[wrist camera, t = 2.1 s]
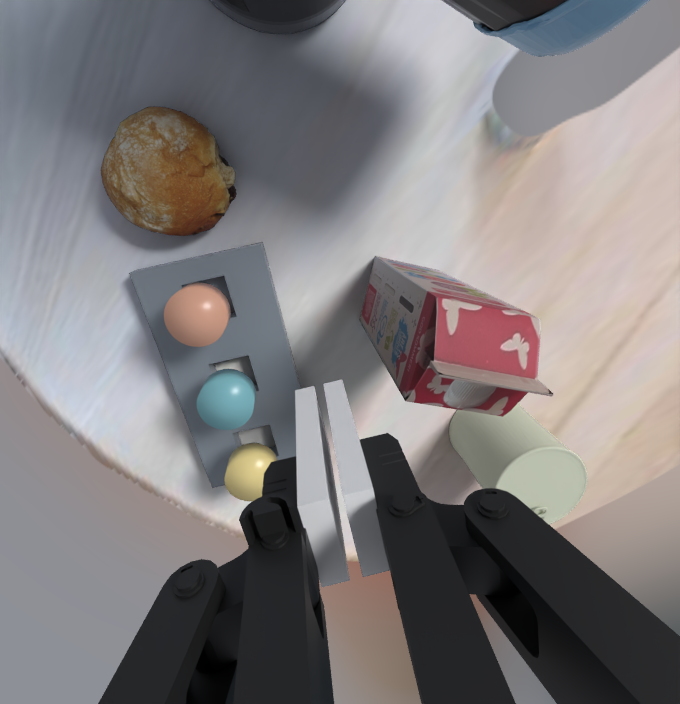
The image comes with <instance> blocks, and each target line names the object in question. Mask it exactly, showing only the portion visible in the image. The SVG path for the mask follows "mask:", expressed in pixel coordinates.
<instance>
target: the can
mask: <svg viewBox="0 0 680 704" xmlns="http://www.w3.org/2000/svg"><path fill="white" fill-rule="evenodd" d="M449 437H450V441H451V444H452V446H453V448H454V449H455V450H456V452H457V453H458V454H460V456H461V457H462V459H463V460H464V461H465V463H466V464H467V466H468V467H469V469H470V470H471V472H472V473H473V475H474V476H475V478H476V479H477V481H478V483H479V484H480V486H481V487H482V489H484V488H497V489H500V490H504V491H507V492H509V493H511V494H512V495H514V496H516V497H517V498H518V499H519V500H521V501H522V502H523V503H524V504H525V505H526V506H528V507H529V508H530V509H531V510H532V511H533V512H535V513H536V514H537V515H538V516H539V517H540V518H542V519H543V520H544V521H545V522H546V523H547V524H552V523H554V522H556V521H558V520H560V519H561V518H563V517H564V516H566V515H567V514H568V513H569V512H570V511H572V510H573V509H574V508H575V506H576V505H577V504H578V502H579V501H580V500H581V498H582V496H583V494H584V492H585V489H586V485H587V470H586V467H585V465H584V463H583V461H582V460H581V458H580V457H579V456H578V455H577V454H576V453H574V452H572V451H571V450H570V449H569V448H567V447H566V446H565V445H564V444H563V443H562V442H560V441H559V440H558V439H557V438H556V437H555V436H553V435H552V434H551V433H550V432H549V431H548V430H547V429H546V428H544V427H543V426H542V425H541V424H540V423H539V422H538V421H537V420H535V419H534V418H533V417H532V416H531V415H530V414H529V413H528V412H527V411H526V410H525V409H524V408H523V407H522V406H521V405H520V404H519V402H518V404H517V405H516V406H515V407H514V408H513V409H512V410H511V411H510V412H508V413H507V414H506V415H504V416H503V417H502V416H496V415H489V414H483V413H477V412H471V411H464V410H457V411H456V413H455V414H454V416H453V418H452V420H451V423H450V428H449Z"/></svg>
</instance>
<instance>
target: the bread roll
mask: <svg viewBox="0 0 680 704" xmlns="http://www.w3.org/2000/svg"><path fill="white" fill-rule="evenodd" d="M213 167H214V168H213ZM101 175H102V181H103V185H104V188H105V190H106V192H107V195H108V196H109V198H110V199H111V201H112V203H113V204H114V205H115V207H116V208H117V209H118V211H119V212H120V213H121V214H122V215H123V216H124V217H125V218H126V219H127V220H129V221H130V222H131V223H133V224H135V225H137V226H139V227H141V228H144V229H147V230H150V231H153V232H159V233H162V234H167V235H177V236H186V235H194V234H197V233H200V232H203V231H207V230H210V229H211V228H212V227H214V226H215V224H216V223H217V222H218V221H219V220H220V219H221V217H222V216H224V214H225V212H226V210H227V209H228V207H229V203H231V201H232V200H234V198H235V197H236V195H237V194H236V189H235V187H234V186H233V185H234V183H235V171H234V169H233V167H232V166H229V165H228V162H227V161H226V160H225V159H224V158H223V157H221V156H220V154H219V147H218V145H217V143H216V140H215V137H214V136H213V135H212V134H211V133H209V132H208V129H207V128H206V127H204V126H203V125H202V124H201V123H199V122H198V121H196V120H195V119H194V118H193V117H191V116H189V115H187V114H185V113H183V112H181V111H176V110H174V109H170V108H166V107H147V108H145V109H143V110H141V111H139V112H137V113H135V114H133V115H131V116H129V117H128V118H126V119H125V120H123V121H122V122H120V125H119V127H118V130H117V132H116V133H115V137H114V138H113V140H112V141H111V143H110V146H109V148H108V150H107V152H106V154H105V156H104V160H103V163H102V167H101Z"/></svg>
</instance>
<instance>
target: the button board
mask: <svg viewBox="0 0 680 704" xmlns="http://www.w3.org/2000/svg"><path fill="white" fill-rule="evenodd" d="M129 274H130V277H131V279H132V282H133V285H134V287H135V290H136V292H137V295H138V297H139V300H140V303H141V305H142V308H143V310H144V313H145V315H146V318H147V321H148V323H149V326H150V328H151V331H152V334H153V336H154V339H155V341H156V344H157V346H158V349H159V352H160V354H161V357H162V359H163V362H164V364H165V367H166V370H167V372H168V375H169V377H170V380H171V383H172V385H173V388H174V390H175V393H176V395H177V398H178V401H179V403H180V406H181V408H182V411H183V413H184V416H185V419H186V421H187V424H188V426H189V429H190V432H191V434H192V437H193V439H194V442H195V444H196V447H197V450H198V452H199V455H200V457H201V460H202V462H203V465H204V468H205V470H206V473H207V475H208V478H209V481H210V483H211V486H212V488H214V487H218V486H222V485H225V481H224V480H225V474H226V469H227V465H228V461H229V458H230V456H231V454H232V453H233V451H234V450H235V449H237V448H238V447H240V446H242V444H241V441H240V438H239V435H238V432H240V431H244V430H248V429H253V428H257V427H261V426H265V425H270V428H271V431H272V434H273V437H274V441H275V444H276V447H272V448H270V449H271V450H272V451H273V452H274V453H275V455H276V457H277V460H282V459H286V458H290V457H294V456H296V409H295V390H299V389H301V386H300V382H299V378H298V374H297V371H296V367H295V363H294V359H293V355H292V352H291V348H290V344H289V340H288V337H287V333H286V329H285V325H284V321H283V318H282V314H281V310H280V306H279V302H278V299H277V295H276V291H275V287H274V284H273V280H272V276H271V272H270V268H269V265H268V261H267V257H266V253H265V249H264V246H263V242H261V243H256V244H251V245H247V246H242V247H238V248H233V249H229V250H224V251H220V252H215V253H211V254H206V255H202V256H197V257H193V258H188V259H184V260H179V261H175V262H170V263H166V264H161V265H157V266H152V267H148V268H143V269H138V270H135V271H133V272H131V273H129ZM220 276H224V277H225V280H226V284H227V287H228V290H229V293H230V297H231V300H232V303H233V306H234V310H235V313H231V315H230V320H229V322H228V324H227V326H226V328H225V330H224V332H223V334H222V335H221V337H220V338H219V339H218V340H217V341H215V342H214V343H212V344H210V345H207V346H203V347H193V346H188V345H185V344H183V343H181V342H179V341H178V340H176V339H175V338H174V337H173V336H172V335H171V334H170V332H169V331H168V329H167V327H166V325H165V322H164V309H165V306H166V304H167V302H168V300H169V299H170V298H171V297H172V296H173V295H174V294H175V293H176V292H178V291H179V290H180V289H182V288H183V287H184V286H186V285H187V284H189V283H193V282H198V281H202V280H207V279H211V278H216V277H220ZM247 355H248V356H249V359H250V362H251V365H252V369H253V372H254V375H255V378H256V382H257V384H254V386H255V389H256V398H255V403H254V409H253V413H252V415H251V417H250V419H249V420H248V421H247V422H246V423H245V424H244V425H242V426H241V427H238V428H236V429H232V430H220V429H216V428H214V427H211V426H210V425H208V424H207V423H205V422H204V421H203V420H202V418H201V417H200V415H199V413H198V410H197V398H198V395H199V393H200V391H201V389H202V387H203V385H204V383H205V381H206V379H207V378H208V377H209V376H210V375H211V374H213V373H214V372H216V371H217V370H216V367H215V365H214V363H217V362H221V361H226V360H230V359H234V358H239V357H243V356H247Z"/></svg>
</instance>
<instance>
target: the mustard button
mask: <svg viewBox="0 0 680 704" xmlns="http://www.w3.org/2000/svg"><path fill="white" fill-rule="evenodd" d="M273 461H277V457H276V455H275V453H274V452H273V451H272V450H271V449H270V448H268V447H267V446H264V445H262V444H260V443H249V444H245V445H242V446H240V447H238V448H237V449H235V450H234V451H233V453H232V454H231V456H230V458H229V461H228V465H227V469H226V474H225V480H224V481H225V486H226V488H227V490H228V491H229V492H230V494H232V495H233V496H234V497H236V498H238V499H240V500H244V501H254V500H256V499H257V498H260V497H262V488H263V478H264V473H265V471H266V469H267V468H268V466H269V465H270V463H271V462H273Z"/></svg>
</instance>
